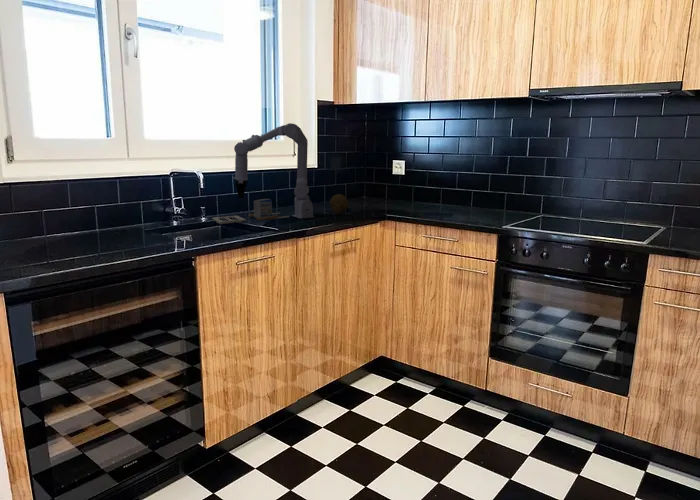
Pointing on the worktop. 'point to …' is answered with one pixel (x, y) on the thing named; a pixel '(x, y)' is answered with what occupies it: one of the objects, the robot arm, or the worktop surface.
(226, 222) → the plate
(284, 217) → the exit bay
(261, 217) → the channel rails
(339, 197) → the natural sponge
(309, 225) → the worktop surface
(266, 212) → the medicine box
